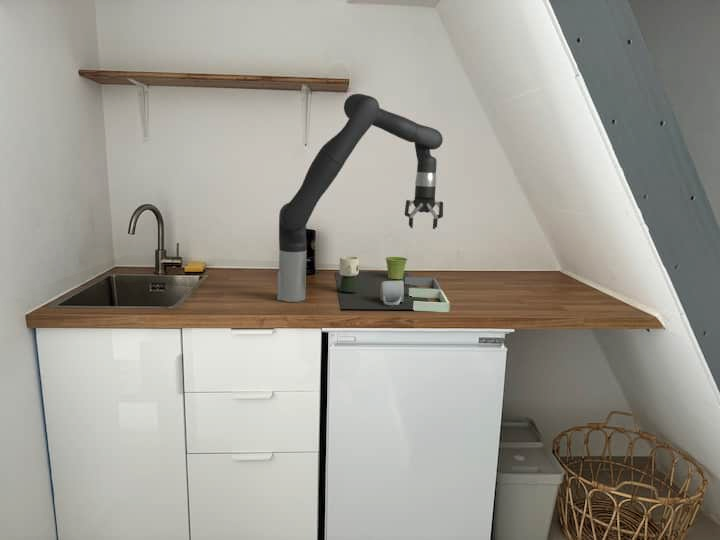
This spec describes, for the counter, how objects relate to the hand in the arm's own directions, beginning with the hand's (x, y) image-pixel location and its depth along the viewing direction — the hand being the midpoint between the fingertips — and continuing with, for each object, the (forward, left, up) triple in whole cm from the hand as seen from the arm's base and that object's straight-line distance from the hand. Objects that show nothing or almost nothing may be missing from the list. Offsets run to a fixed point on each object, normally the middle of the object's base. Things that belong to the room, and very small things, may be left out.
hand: (422, 228), depth 199 cm
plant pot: (-8, +20, -24) cm, 33 cm away
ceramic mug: (-11, -20, -24) cm, 34 cm away
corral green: (+1, -20, -24) cm, 31 cm away
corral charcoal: (+1, 0, -24) cm, 24 cm away
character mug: (-27, -8, -24) cm, 37 cm away
